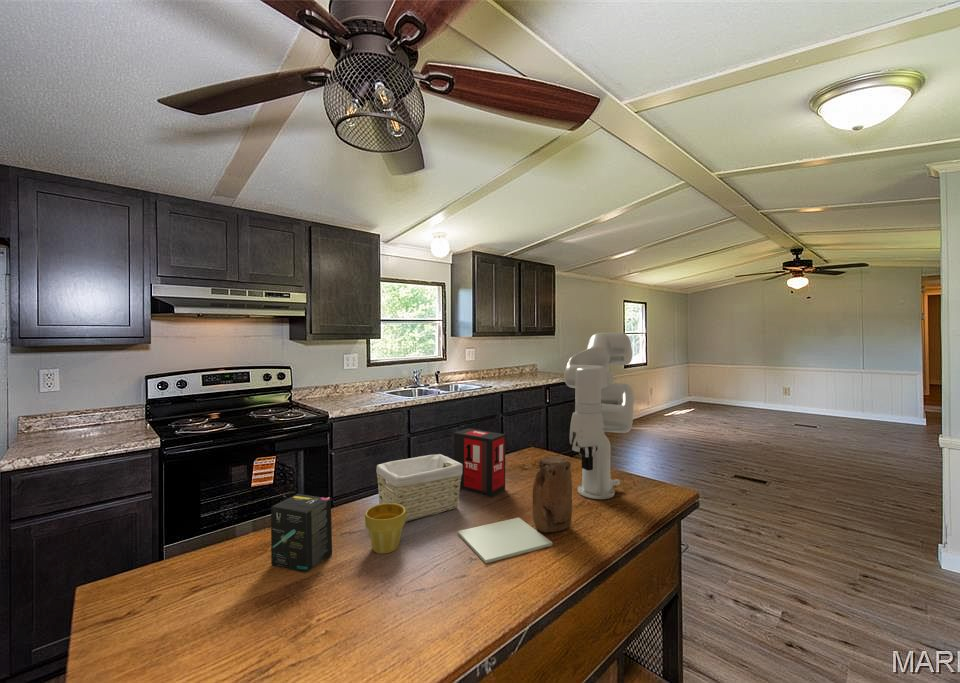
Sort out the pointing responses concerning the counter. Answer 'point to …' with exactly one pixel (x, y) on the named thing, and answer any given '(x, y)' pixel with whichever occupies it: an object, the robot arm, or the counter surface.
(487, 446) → the cleaning product box
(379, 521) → the plant pot
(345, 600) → the counter surface
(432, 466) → the storage basket
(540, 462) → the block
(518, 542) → the cutting board
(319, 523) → the tampon box
